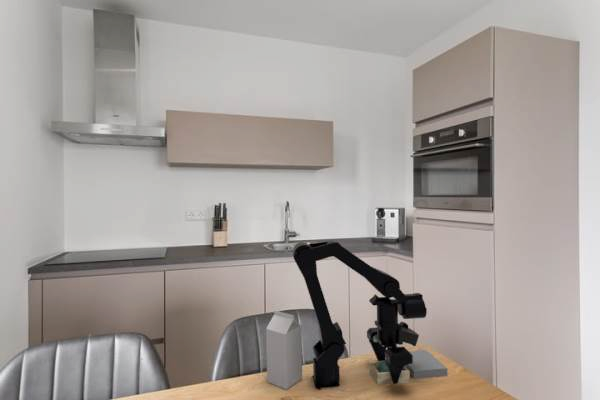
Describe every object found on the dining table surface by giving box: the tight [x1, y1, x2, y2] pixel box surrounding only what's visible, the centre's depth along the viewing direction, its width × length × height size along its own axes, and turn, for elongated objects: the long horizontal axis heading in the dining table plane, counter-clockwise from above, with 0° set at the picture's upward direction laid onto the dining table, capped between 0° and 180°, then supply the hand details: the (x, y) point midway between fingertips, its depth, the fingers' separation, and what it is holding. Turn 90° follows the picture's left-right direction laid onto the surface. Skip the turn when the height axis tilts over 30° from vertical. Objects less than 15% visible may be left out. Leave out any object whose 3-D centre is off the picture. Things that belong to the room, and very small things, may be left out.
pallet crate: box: [368, 360, 411, 386], centre depth 96 cm, size 9×7×4 cm
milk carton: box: [265, 310, 303, 390], centre depth 96 cm, size 7×7×19 cm
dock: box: [405, 349, 448, 380], centre depth 102 cm, size 10×12×2 cm
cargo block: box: [379, 361, 389, 373], centre depth 96 cm, size 4×4×4 cm
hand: (388, 374), depth 96 cm, fingers open, 9 cm apart
